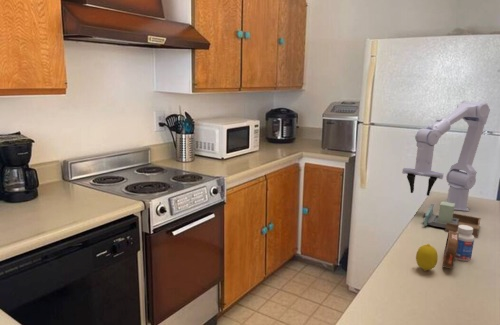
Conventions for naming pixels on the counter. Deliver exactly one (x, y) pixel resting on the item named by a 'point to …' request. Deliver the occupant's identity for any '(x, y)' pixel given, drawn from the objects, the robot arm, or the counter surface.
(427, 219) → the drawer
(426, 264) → the lemon
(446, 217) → the block
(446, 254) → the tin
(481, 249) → the counter surface
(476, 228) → the brown shallow rectangular box
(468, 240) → the pill bottle
